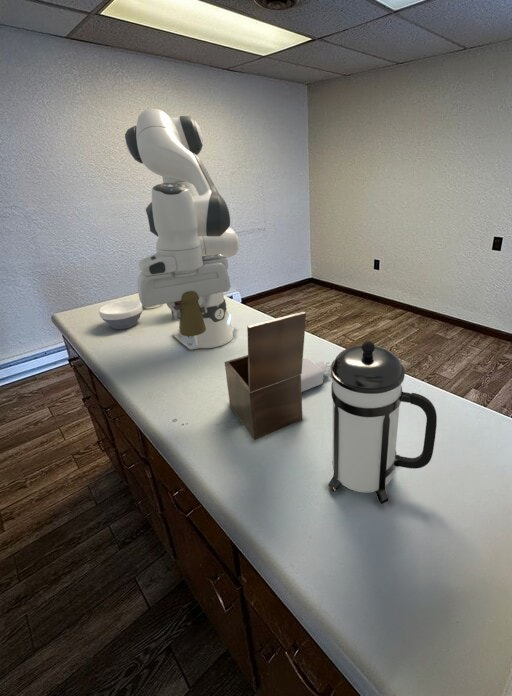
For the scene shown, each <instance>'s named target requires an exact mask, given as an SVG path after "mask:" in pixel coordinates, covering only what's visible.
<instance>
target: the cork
mask: <svg viewBox="0 0 512 696" xmlns="http://www.w3.org/2000/svg"><path fill="white" fill-rule="evenodd" d="M198 300H199V297H198V294H197V293H196V292H195V291H188V292H185V293H183V295H182V297H181V301H178V302H179V303H180V311H181V316H182V318H180V319H179V321H180V333H181V335H183V336H196V335H200V334H202V333H204V332H205V331H206V326H205V323H204V319H203V316H202V313H201V310H200V306H199V303H198Z"/></svg>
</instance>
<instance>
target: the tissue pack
mask: <svg viewBox="0 0 512 696" xmlns="http://www.w3.org/2000/svg"><path fill="white" fill-rule="evenodd" d="M329 364H330V362H329V361H328V362H324V361H318V362H316V363H315V362H314V361H312V360H311V359H309V358H303V362H302V374H301V393H303V392H306V391H308V390H310V389H312V388H316V387H318V386H320V385H322V384H323V381H324V374H325V373H326V371H327V370H328V369H329V368H330V367H331V364H330V365H329Z"/></svg>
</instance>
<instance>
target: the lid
mask: <svg viewBox="0 0 512 696" xmlns="http://www.w3.org/2000/svg"><path fill="white" fill-rule="evenodd" d="M306 321H307V313H306V311H300V312H296V313H293V314H289V315H285V316H281V317H277V318H273V319H269V320H265V321H261V322H257V323H254V324H253V323H252V324H249V325H247V327H246V328H247V329H246V331H247V355H248V378H249V391H250V392H253V391H255V390H258V389H261V388H264V387H267V386H269V385H272V384H275V383H278V382H280V381H283V380H286V379H289V378H292V377H294V376H297V375H300V374H302V362H303V359H304V349H305V348H304V346H305V334H306V333H305V332H306Z"/></svg>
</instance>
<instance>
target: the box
mask: <svg viewBox="0 0 512 696" xmlns="http://www.w3.org/2000/svg"><path fill="white" fill-rule="evenodd" d="M224 367H225V378H226V385H227V393H228V401H229V406H230V407H231V409H232V410H233V412H234V413H235V414H236V416H237V417H238V420H239V421H240V422H241V423H242V425H243V426H244V427H245V429H246V431H247V432H248V434H249V436H251V438H252V439H253V441H257V440H259V439H262V438H265V437H266V436H268V435H270V434H273V433H275V432H277V431H280V430H283V429H284V428H287V427H289V426H291V425H294V424H296V423H298V422H300V421H302V420H303V399H302V398H303V397H302V396H303V395H302V393H303V392H301V374H300V375H297V376H294V377H292V378H289V379H286V380H283V381H280V382H278V383H275V384H272V385H269V386H267V387H264V388H261V389H258V390H255V391H253V392H250V391H249V378H248V354H246V355H243V356H239V357H237V358H233V359H230V360H226V361H224Z"/></svg>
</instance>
